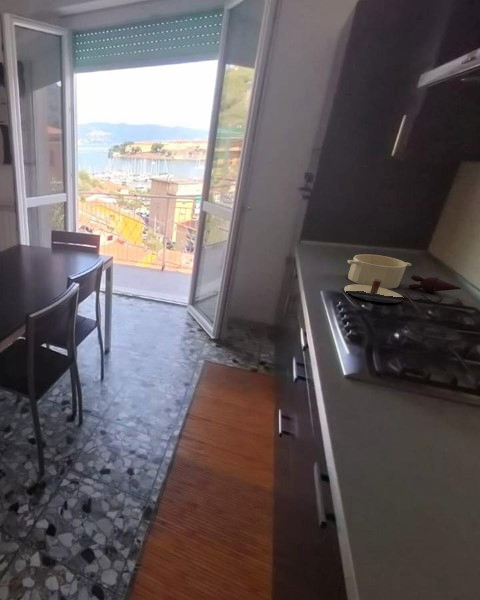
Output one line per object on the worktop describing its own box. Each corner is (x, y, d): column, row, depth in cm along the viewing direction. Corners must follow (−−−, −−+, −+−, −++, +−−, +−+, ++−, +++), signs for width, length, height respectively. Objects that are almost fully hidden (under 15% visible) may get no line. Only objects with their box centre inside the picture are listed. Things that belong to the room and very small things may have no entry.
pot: (416, 290, 147) (425, 268, 143) (353, 286, 151) (360, 265, 147) (390, 275, 163) (397, 255, 159) (334, 272, 167) (339, 253, 163)
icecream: (463, 279, 140) (412, 273, 151) (464, 279, 135) (411, 273, 146) (458, 296, 142) (408, 289, 152) (458, 297, 137) (406, 290, 147)
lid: (414, 307, 133) (421, 290, 130) (358, 303, 136) (363, 287, 133) (384, 288, 150) (390, 273, 147) (335, 285, 153) (339, 270, 150)
